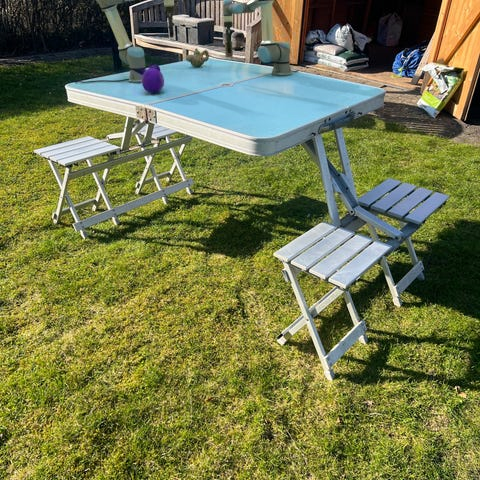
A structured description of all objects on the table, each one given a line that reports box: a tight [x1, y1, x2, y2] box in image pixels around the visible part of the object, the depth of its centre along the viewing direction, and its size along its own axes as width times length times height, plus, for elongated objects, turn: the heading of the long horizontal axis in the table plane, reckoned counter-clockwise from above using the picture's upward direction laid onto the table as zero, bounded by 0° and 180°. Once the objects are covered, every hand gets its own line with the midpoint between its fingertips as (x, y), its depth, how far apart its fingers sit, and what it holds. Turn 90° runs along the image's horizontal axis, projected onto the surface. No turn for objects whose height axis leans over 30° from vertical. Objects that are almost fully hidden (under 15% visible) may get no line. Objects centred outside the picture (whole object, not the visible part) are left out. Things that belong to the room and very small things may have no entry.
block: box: [224, 40, 234, 58], centre depth 373 cm, size 6×5×12 cm
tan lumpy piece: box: [185, 48, 210, 68], centre depth 384 cm, size 21×12×15 cm, turn 120°
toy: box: [134, 64, 165, 94], centre depth 304 cm, size 16×18×27 cm
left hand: (171, 36), depth 353 cm, fingers open, 13 cm apart
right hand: (229, 52), depth 374 cm, fingers closed on block, 5 cm apart
